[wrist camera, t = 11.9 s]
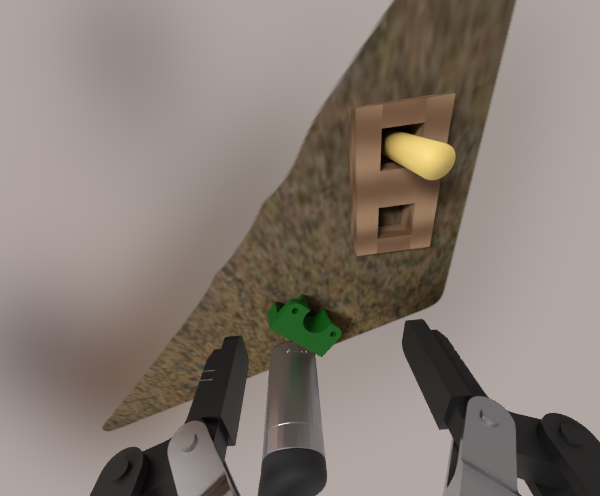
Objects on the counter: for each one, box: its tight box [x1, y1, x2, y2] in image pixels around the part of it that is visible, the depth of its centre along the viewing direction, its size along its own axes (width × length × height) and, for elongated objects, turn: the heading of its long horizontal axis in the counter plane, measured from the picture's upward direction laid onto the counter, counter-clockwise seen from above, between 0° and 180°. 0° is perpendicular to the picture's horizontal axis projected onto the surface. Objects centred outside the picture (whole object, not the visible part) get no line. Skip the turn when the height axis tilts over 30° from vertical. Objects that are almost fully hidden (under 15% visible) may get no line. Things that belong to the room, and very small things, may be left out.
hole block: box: [348, 93, 455, 256], centre depth 31 cm, size 18×10×4 cm, turn 7°
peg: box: [381, 130, 455, 180], centre depth 25 cm, size 3×3×11 cm
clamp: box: [268, 294, 342, 357], centre depth 41 cm, size 12×6×9 cm, turn 43°
